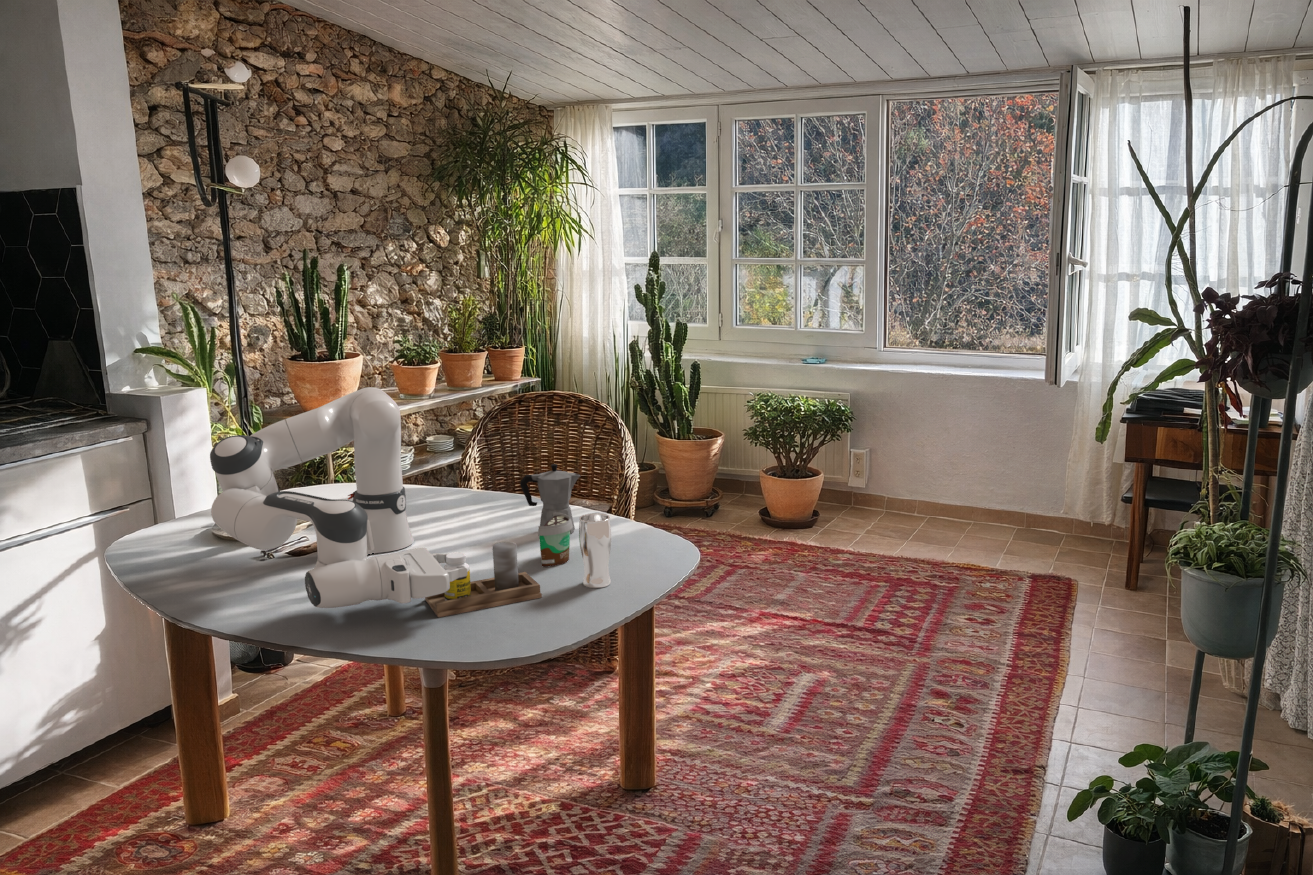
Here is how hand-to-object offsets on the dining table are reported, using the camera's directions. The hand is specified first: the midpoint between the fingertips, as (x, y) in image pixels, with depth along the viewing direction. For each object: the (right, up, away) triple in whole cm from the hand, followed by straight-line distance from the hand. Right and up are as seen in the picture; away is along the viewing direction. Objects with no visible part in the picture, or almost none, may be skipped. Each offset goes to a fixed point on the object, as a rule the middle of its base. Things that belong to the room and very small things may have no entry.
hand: (460, 564), depth 198 cm
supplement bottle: (-1, -8, +1) cm, 8 cm away
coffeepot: (+14, +2, +49) cm, 51 cm away
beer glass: (+28, -6, +11) cm, 30 cm away
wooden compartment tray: (+4, -8, +4) cm, 10 cm away
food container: (+18, -3, +27) cm, 33 cm away
